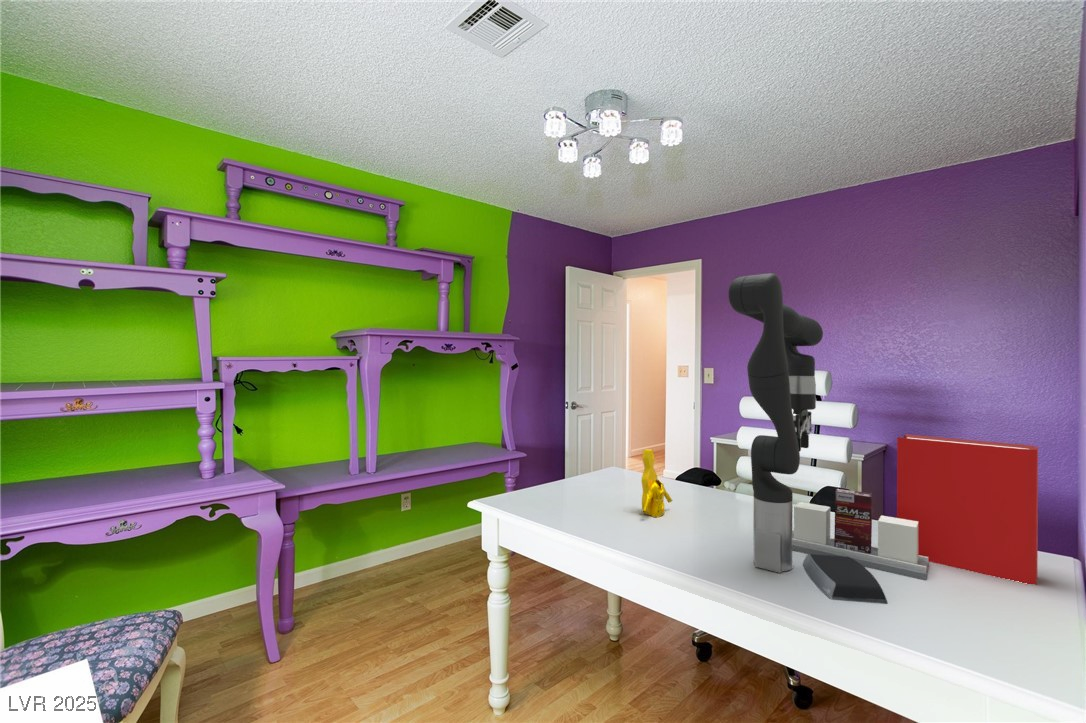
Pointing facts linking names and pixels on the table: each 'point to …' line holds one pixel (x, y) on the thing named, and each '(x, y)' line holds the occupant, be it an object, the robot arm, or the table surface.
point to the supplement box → (853, 521)
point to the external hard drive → (843, 579)
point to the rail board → (890, 555)
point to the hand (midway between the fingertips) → (800, 449)
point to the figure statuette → (652, 488)
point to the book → (972, 503)
